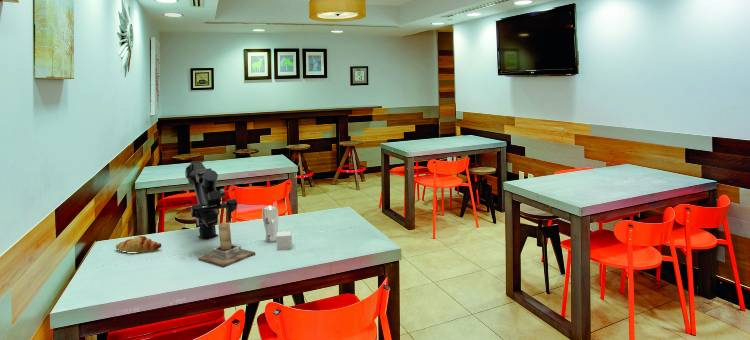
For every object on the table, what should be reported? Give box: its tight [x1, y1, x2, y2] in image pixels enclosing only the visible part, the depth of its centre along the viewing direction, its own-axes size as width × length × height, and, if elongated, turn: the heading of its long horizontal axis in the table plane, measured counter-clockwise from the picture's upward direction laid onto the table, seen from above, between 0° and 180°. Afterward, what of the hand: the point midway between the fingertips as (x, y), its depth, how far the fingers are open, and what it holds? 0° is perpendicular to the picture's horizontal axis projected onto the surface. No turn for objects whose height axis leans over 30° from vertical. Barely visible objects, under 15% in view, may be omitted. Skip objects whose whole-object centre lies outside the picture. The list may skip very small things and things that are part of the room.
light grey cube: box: [276, 230, 293, 251], centre depth 202 cm, size 6×6×6 cm
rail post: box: [217, 222, 233, 252], centre depth 191 cm, size 4×4×13 cm
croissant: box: [115, 235, 162, 253], centre depth 204 cm, size 21×10×8 cm
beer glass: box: [261, 205, 279, 243], centre depth 211 cm, size 7×7×15 cm
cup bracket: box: [197, 244, 256, 268], centre depth 192 cm, size 16×16×4 cm
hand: (219, 224), depth 197 cm, fingers open, 9 cm apart
